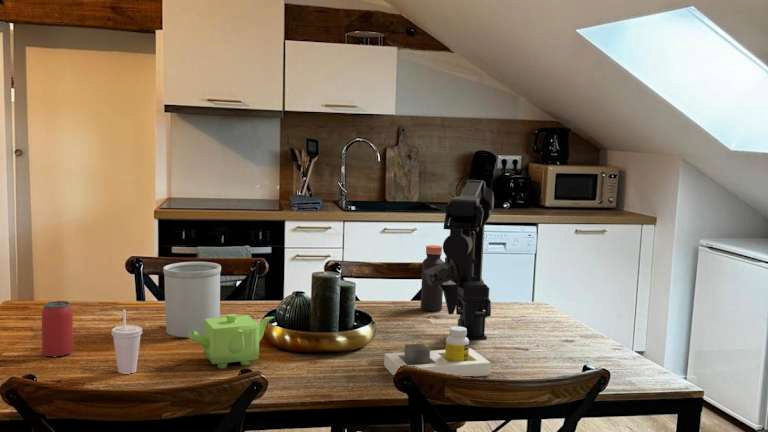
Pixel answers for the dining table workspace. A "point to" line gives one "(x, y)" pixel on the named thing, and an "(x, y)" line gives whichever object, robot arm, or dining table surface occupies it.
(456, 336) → the supplement bottle
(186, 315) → the utensil holder
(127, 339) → the smoothie
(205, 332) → the kettle
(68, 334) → the beer can
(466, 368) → the white flat block
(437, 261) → the vinegar
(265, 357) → the dining table surface
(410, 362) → the seated peg
